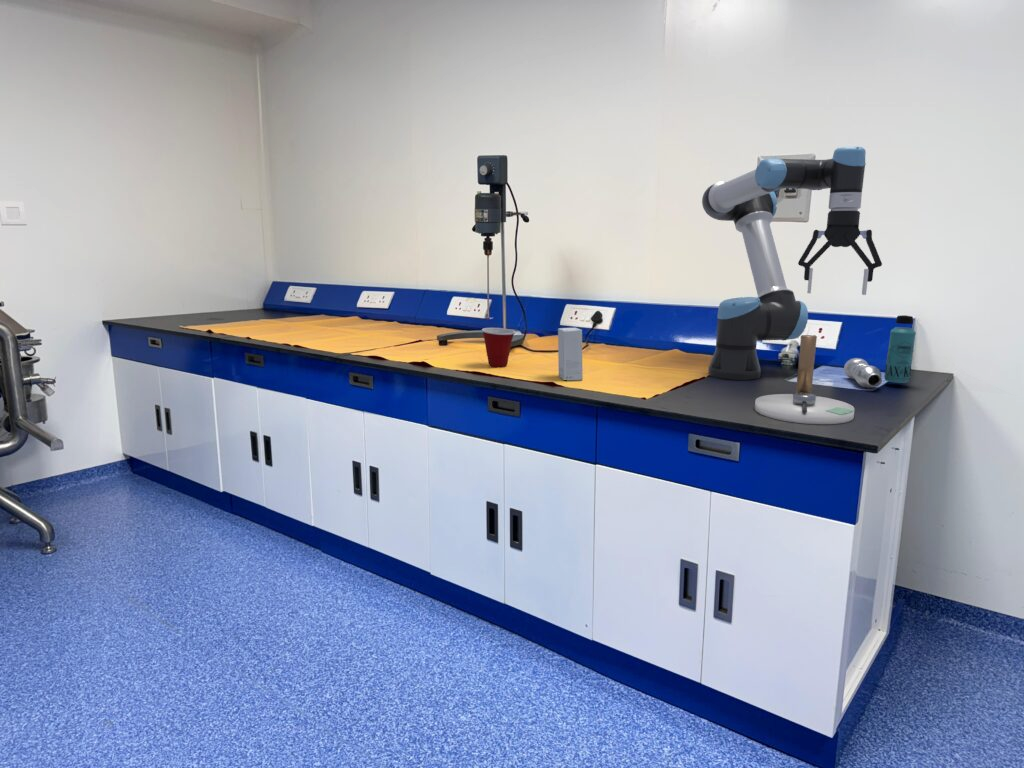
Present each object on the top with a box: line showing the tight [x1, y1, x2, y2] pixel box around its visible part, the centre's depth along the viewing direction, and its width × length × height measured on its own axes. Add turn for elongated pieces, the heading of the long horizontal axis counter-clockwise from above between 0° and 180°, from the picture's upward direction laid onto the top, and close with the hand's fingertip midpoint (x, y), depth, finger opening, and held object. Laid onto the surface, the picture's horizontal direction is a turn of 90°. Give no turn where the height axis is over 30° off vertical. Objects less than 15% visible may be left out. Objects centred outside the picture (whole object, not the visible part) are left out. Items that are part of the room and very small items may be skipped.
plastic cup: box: [481, 327, 516, 368], centre depth 225 cm, size 11×11×12 cm
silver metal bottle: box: [843, 357, 883, 389], centre depth 199 cm, size 6×7×20 cm
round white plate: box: [754, 393, 855, 425], centre depth 168 cm, size 22×22×2 cm
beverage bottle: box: [883, 315, 917, 384], centre depth 196 cm, size 6×7×20 cm
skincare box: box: [557, 327, 584, 381], centre depth 206 cm, size 8×6×15 cm
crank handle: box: [792, 334, 818, 412], centre depth 166 cm, size 21×5×15 cm, turn 158°
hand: (836, 293), depth 184 cm, fingers open, 12 cm apart
